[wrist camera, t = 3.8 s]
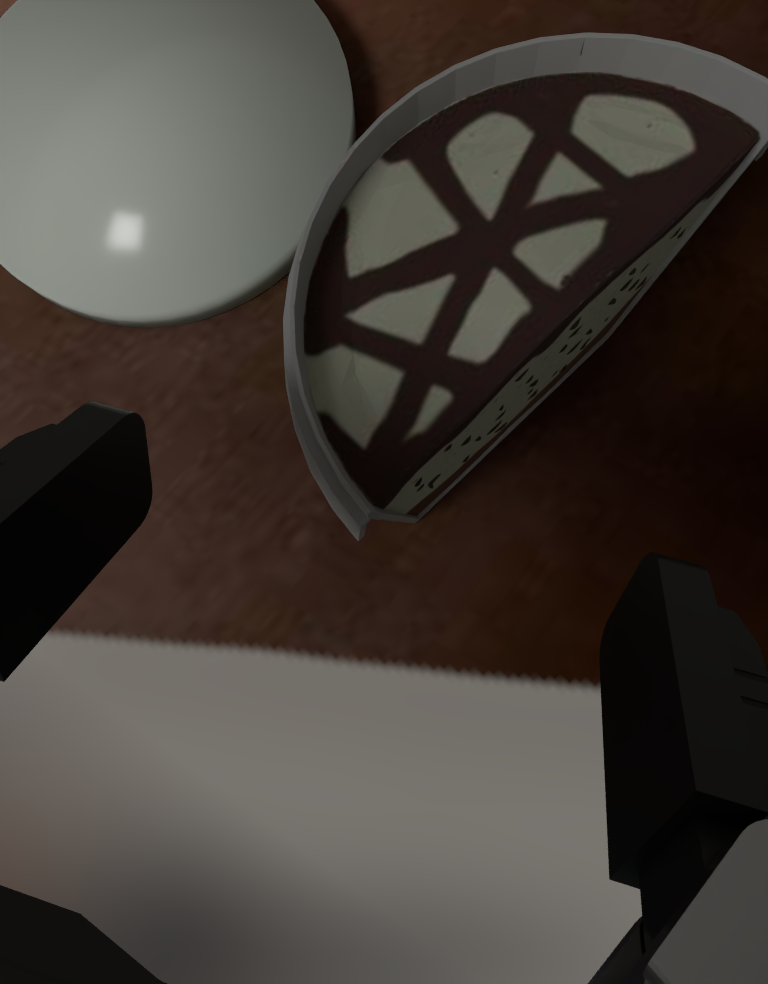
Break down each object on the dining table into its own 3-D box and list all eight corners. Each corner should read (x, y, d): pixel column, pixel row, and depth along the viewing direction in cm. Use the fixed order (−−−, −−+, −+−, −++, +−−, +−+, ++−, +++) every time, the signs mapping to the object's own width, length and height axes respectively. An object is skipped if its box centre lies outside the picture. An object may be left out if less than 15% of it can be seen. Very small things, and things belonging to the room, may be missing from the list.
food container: (512, 195, 22) (581, -105, 12) (638, 309, 21) (820, 82, 12) (264, 428, 22) (130, 306, 12) (383, 554, 21) (346, 535, 11)
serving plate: (402, 6, 24) (400, -24, 22) (290, 370, 22) (282, 359, 21) (49, -60, 25) (30, -92, 24) (-82, 276, 23) (-108, 260, 22)
